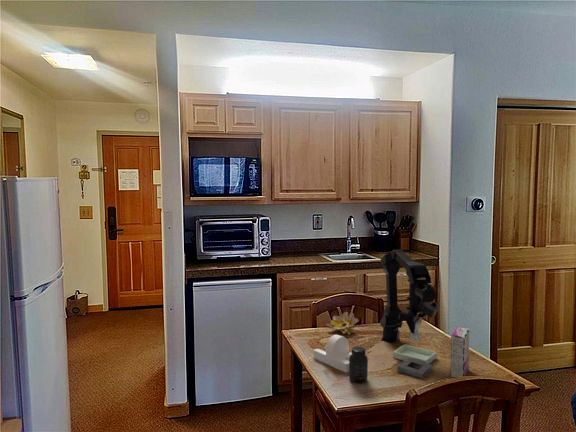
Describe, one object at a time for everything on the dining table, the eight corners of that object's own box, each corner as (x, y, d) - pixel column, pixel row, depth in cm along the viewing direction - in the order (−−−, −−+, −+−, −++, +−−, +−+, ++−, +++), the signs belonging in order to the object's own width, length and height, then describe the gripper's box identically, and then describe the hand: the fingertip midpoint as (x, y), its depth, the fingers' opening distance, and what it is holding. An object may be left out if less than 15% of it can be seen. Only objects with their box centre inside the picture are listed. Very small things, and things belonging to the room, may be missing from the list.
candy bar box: (455, 366, 167) (456, 326, 166) (468, 369, 164) (470, 328, 163) (449, 377, 157) (450, 334, 156) (463, 380, 155) (465, 337, 153)
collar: (397, 371, 162) (397, 366, 162) (408, 362, 170) (408, 358, 170) (422, 379, 156) (422, 373, 156) (432, 370, 163) (432, 365, 163)
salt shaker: (406, 339, 172) (407, 316, 171) (411, 335, 175) (412, 313, 174) (417, 342, 169) (418, 319, 168) (422, 338, 172) (423, 316, 171)
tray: (393, 357, 175) (393, 351, 175) (404, 349, 183) (404, 344, 183) (425, 367, 166) (426, 360, 166) (436, 358, 174) (436, 352, 174)
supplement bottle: (347, 376, 158) (347, 345, 157) (364, 375, 159) (365, 344, 158) (351, 384, 151) (351, 352, 150) (369, 384, 152) (370, 351, 151)
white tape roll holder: (362, 366, 167) (362, 339, 167) (346, 373, 161) (346, 345, 160) (329, 352, 181) (329, 327, 180) (313, 358, 174) (313, 332, 174)
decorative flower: (320, 325, 209) (325, 306, 209) (336, 326, 215) (341, 307, 215) (341, 336, 197) (346, 316, 197) (357, 337, 203) (362, 317, 203)
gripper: (426, 304, 158) (424, 344, 159) (444, 293, 172) (442, 330, 174) (398, 298, 165) (397, 336, 167) (418, 288, 179) (417, 324, 181)
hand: (414, 331), depth 172 cm, fingers closed on salt shaker, 4 cm apart
